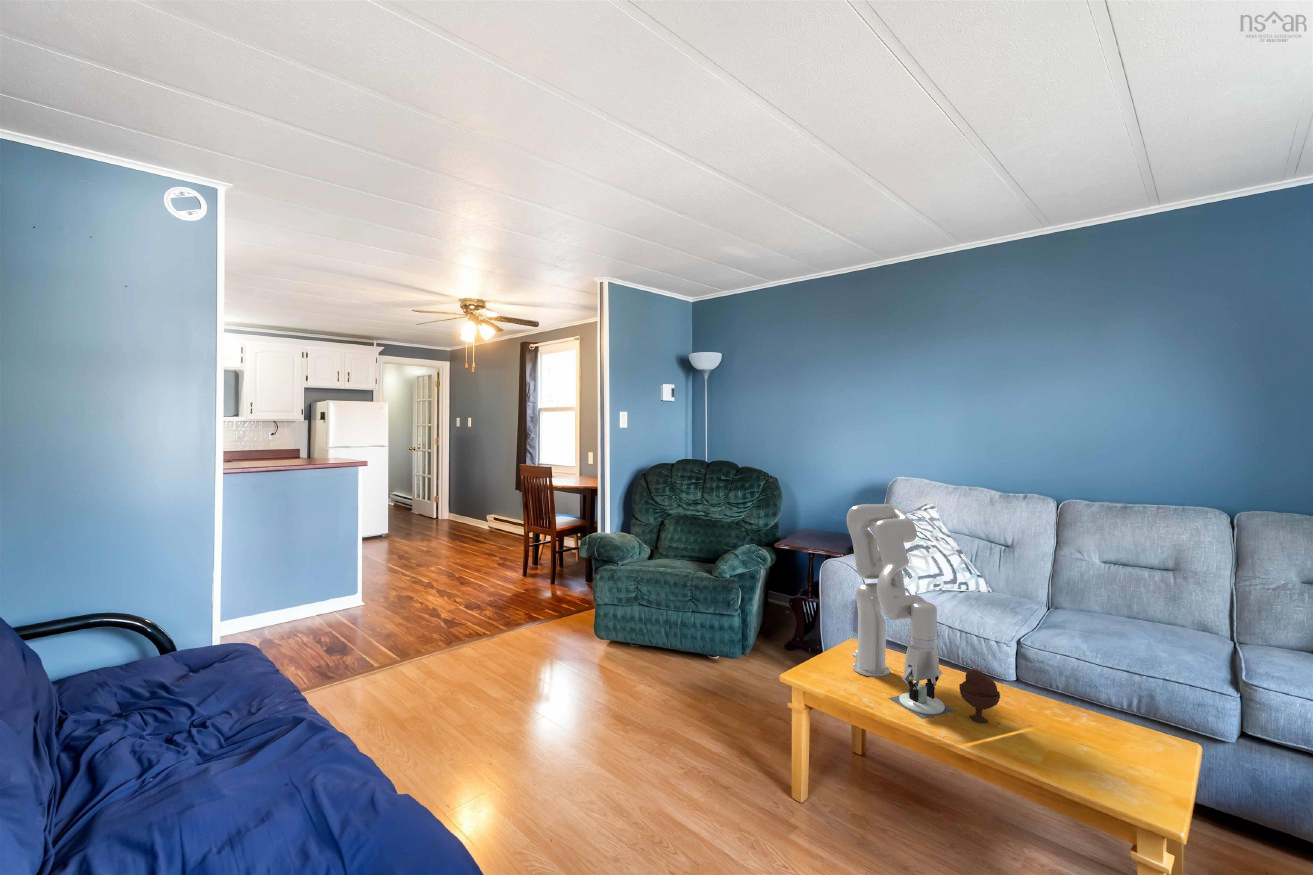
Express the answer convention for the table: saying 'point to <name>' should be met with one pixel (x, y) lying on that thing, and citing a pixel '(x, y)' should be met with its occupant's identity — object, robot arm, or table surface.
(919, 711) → the lid
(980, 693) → the ice cream bowl
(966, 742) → the table surface
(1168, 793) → the table surface
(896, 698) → the mat
